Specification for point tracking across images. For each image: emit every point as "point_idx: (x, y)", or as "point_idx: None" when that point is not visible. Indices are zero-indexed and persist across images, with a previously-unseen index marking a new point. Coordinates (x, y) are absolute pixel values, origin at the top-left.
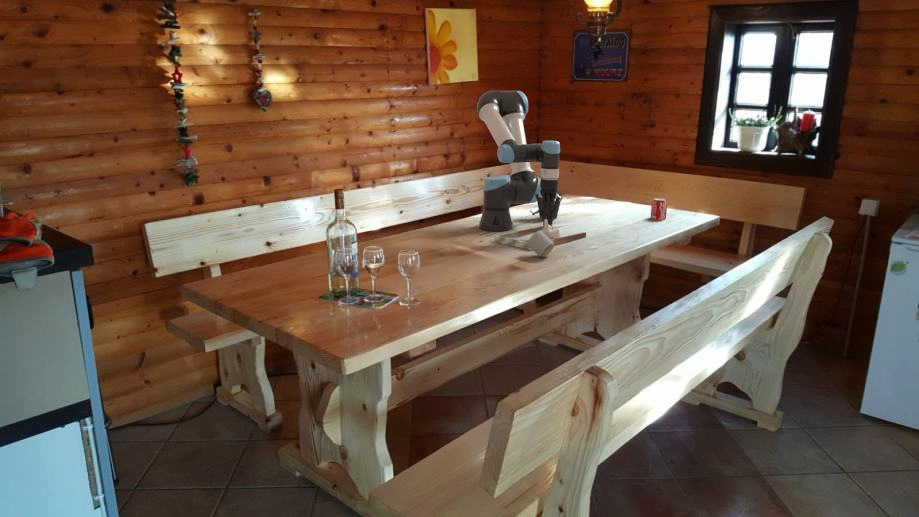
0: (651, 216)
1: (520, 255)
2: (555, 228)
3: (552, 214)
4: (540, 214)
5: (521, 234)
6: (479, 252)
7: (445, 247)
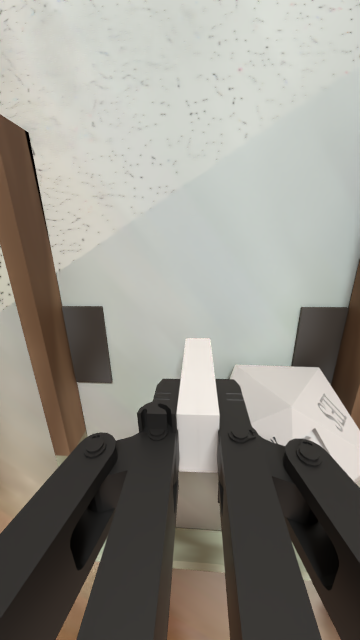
0: None
1: (310, 600)
2: (353, 480)
3: (321, 565)
4: (101, 514)
5: (75, 415)
6: (186, 625)
7: (78, 628)
